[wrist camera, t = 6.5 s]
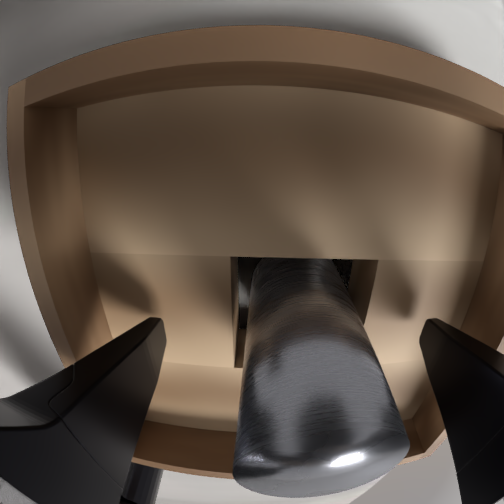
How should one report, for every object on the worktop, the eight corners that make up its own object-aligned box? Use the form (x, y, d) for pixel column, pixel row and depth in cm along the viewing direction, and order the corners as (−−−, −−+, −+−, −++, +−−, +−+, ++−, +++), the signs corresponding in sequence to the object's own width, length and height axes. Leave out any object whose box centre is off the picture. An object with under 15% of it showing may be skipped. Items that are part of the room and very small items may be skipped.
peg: (331, 320, 12) (375, 487, 5) (251, 319, 12) (235, 497, 5) (343, 245, 11) (440, 412, 3) (251, 242, 11) (226, 432, 4)
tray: (405, 394, 14) (429, 456, 10) (147, 393, 15) (122, 459, 10) (477, 117, 8) (560, 124, 4) (97, 96, 9) (8, 87, 4)
